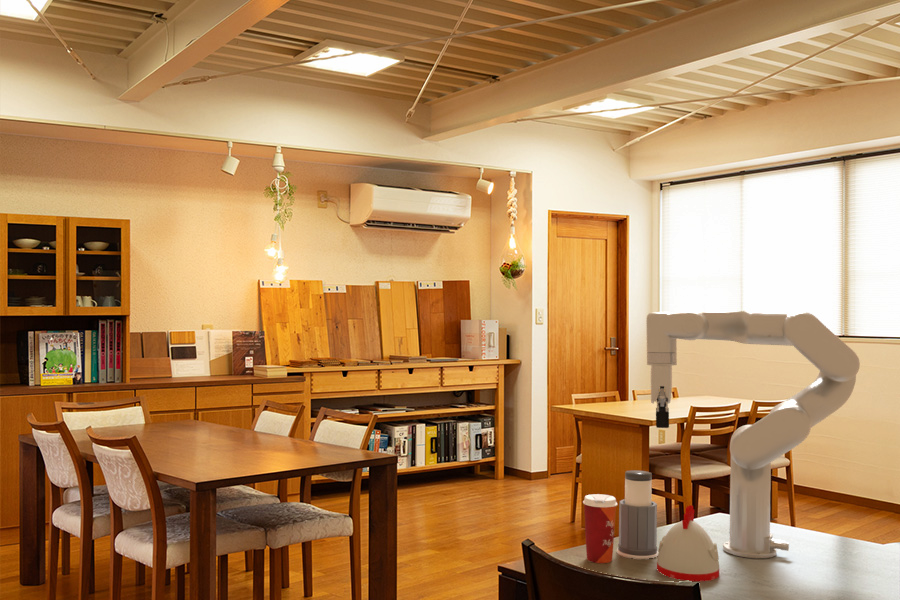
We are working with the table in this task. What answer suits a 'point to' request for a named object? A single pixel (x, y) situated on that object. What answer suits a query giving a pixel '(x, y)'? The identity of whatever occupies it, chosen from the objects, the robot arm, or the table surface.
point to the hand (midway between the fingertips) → (662, 425)
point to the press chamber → (637, 531)
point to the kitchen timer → (688, 552)
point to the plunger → (638, 488)
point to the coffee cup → (599, 527)
